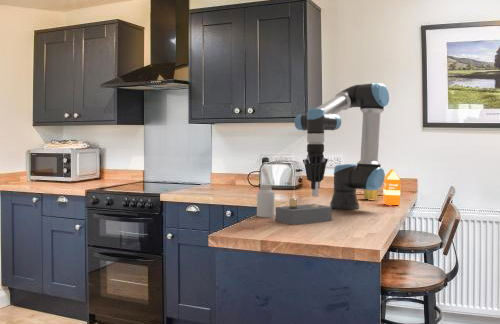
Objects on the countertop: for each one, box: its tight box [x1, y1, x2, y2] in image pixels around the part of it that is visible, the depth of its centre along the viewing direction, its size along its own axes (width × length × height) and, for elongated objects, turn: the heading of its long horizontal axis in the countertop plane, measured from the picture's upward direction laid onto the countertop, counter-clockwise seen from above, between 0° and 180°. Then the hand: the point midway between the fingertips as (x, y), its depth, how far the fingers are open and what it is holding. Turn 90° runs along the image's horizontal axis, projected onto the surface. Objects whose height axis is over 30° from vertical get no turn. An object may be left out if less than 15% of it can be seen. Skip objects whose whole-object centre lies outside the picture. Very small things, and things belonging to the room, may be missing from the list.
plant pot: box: [362, 188, 381, 200], centre depth 292 cm, size 10×10×10 cm
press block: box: [274, 203, 333, 226], centre depth 214 cm, size 22×12×6 cm, turn 123°
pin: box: [288, 198, 298, 209], centre depth 210 cm, size 3×3×6 cm
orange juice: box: [382, 168, 402, 206], centre depth 271 cm, size 8×9×20 cm
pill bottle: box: [256, 183, 275, 219], centre depth 224 cm, size 8×8×15 cm
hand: (315, 196), depth 217 cm, fingers closed
